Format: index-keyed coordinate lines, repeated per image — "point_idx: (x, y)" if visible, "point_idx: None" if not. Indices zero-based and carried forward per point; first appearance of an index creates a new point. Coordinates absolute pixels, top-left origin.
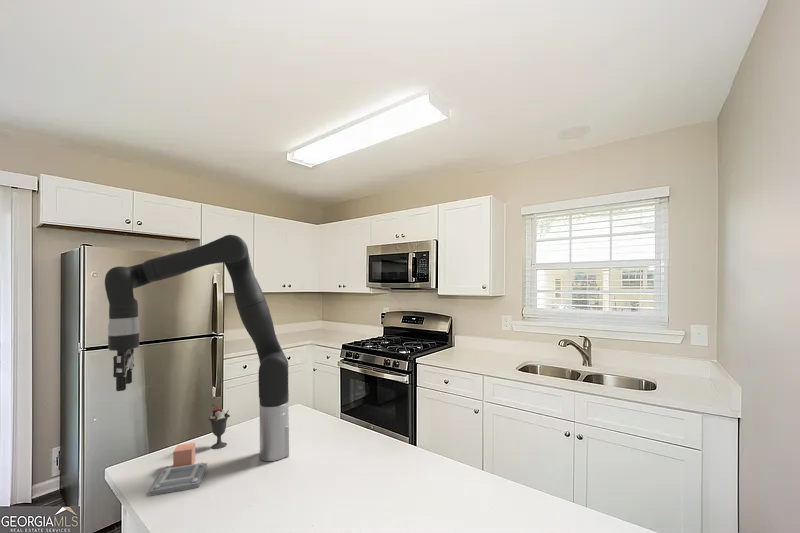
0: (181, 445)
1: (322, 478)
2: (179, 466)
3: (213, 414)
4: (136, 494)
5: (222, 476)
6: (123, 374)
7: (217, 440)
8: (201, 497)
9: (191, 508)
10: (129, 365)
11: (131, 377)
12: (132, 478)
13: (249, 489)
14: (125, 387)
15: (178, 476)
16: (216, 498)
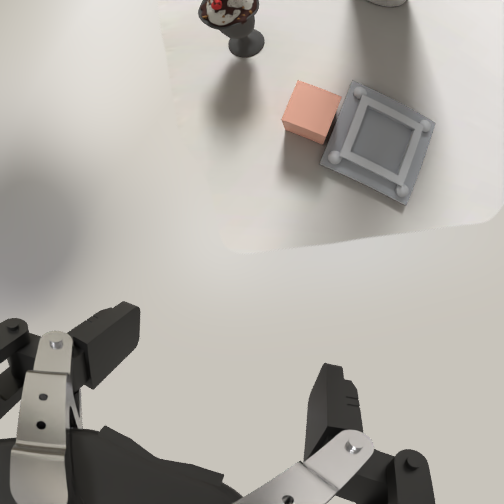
0: (292, 112)
1: (491, 2)
2: (348, 133)
3: (228, 10)
4: (379, 224)
5: (415, 77)
6: (426, 466)
7: (244, 39)
8: (466, 134)
9: (486, 159)
10: (266, 490)
11: (117, 321)
12: (293, 222)
13: (481, 72)
14: (342, 373)
15: (380, 144)
16: (481, 118)
